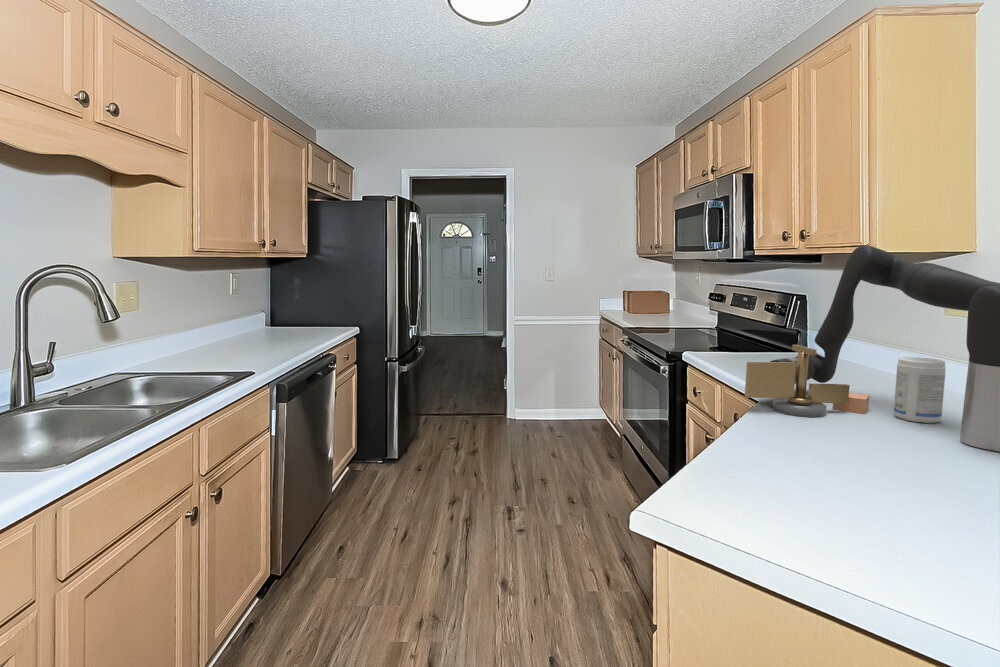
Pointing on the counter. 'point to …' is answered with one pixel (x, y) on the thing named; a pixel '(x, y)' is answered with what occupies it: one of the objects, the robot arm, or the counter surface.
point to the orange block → (854, 403)
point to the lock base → (799, 408)
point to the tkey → (791, 381)
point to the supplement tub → (919, 389)
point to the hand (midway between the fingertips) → (750, 379)
